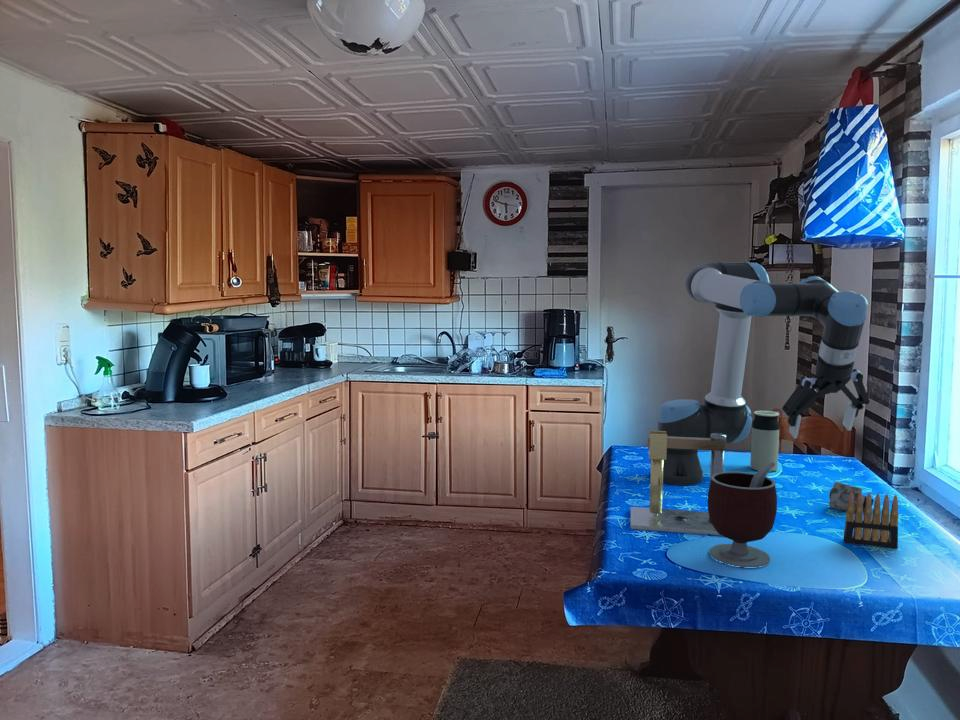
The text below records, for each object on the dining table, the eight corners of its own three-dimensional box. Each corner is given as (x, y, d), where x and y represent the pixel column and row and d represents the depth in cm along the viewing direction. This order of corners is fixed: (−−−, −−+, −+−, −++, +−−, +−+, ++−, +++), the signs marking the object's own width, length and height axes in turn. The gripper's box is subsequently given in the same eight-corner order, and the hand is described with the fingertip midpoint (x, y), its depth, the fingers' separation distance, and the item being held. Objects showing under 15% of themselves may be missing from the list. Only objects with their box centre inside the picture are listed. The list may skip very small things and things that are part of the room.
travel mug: (781, 472, 222) (784, 415, 220) (755, 472, 222) (758, 415, 220) (771, 465, 230) (774, 410, 228) (746, 465, 230) (749, 410, 228)
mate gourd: (737, 574, 145) (742, 478, 143) (691, 550, 158) (695, 461, 156) (794, 562, 151) (799, 470, 149) (746, 540, 164) (750, 455, 162)
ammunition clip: (895, 546, 161) (899, 494, 160) (897, 548, 159) (901, 496, 158) (843, 540, 165) (846, 489, 163) (844, 543, 163) (847, 491, 161)
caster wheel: (864, 513, 192) (875, 519, 182) (819, 501, 194) (828, 506, 185) (870, 489, 192) (882, 494, 182) (825, 477, 194) (835, 481, 184)
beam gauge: (630, 528, 171) (633, 436, 169) (630, 510, 185) (633, 425, 183) (745, 537, 166) (749, 442, 164) (736, 517, 180) (740, 429, 177)
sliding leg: (647, 517, 175) (650, 434, 173) (646, 510, 181) (649, 429, 178) (664, 519, 174) (667, 435, 172) (663, 511, 180) (666, 430, 177)
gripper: (791, 374, 159) (777, 448, 170) (899, 359, 160) (878, 433, 172) (775, 356, 165) (763, 428, 176) (879, 341, 166) (860, 414, 178)
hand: (819, 431), depth 174 cm, fingers open, 13 cm apart
